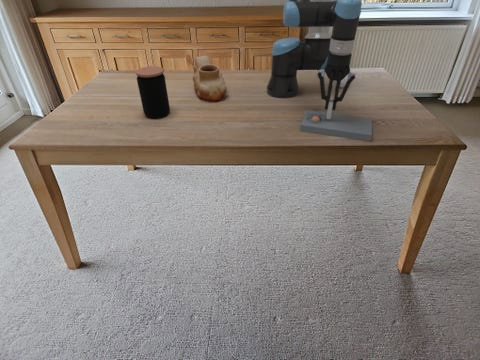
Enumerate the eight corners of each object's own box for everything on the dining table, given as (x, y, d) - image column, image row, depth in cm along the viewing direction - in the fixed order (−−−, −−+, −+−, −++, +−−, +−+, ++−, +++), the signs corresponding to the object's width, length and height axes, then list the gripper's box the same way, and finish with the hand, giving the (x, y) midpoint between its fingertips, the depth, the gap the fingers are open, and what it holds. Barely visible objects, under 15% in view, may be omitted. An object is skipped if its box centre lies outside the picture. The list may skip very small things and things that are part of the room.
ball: (321, 122, 116) (313, 127, 117) (321, 121, 119) (314, 126, 121) (316, 114, 116) (308, 119, 117) (316, 113, 119) (309, 118, 120)
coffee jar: (175, 110, 131) (168, 67, 120) (162, 121, 123) (154, 76, 112) (153, 107, 134) (145, 65, 123) (139, 117, 126) (129, 73, 115)
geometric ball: (335, 92, 152) (327, 79, 150) (344, 83, 155) (337, 69, 152) (346, 89, 145) (338, 75, 143) (356, 79, 148) (348, 65, 145)
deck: (299, 130, 115) (300, 124, 114) (306, 115, 126) (306, 109, 124) (369, 141, 108) (371, 135, 107) (370, 124, 119) (372, 118, 117)
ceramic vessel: (216, 81, 159) (214, 51, 150) (231, 100, 139) (230, 67, 130) (189, 85, 155) (186, 54, 146) (201, 104, 135) (198, 70, 126)
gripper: (318, 53, 100) (309, 119, 115) (360, 56, 97) (345, 124, 111) (321, 47, 106) (312, 111, 120) (361, 50, 103) (347, 115, 117)
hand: (328, 117), depth 116 cm, fingers closed
